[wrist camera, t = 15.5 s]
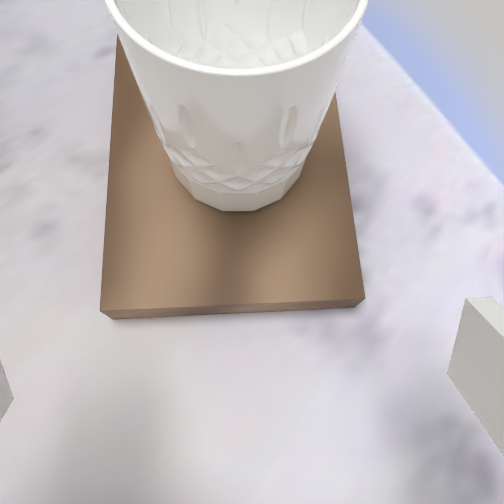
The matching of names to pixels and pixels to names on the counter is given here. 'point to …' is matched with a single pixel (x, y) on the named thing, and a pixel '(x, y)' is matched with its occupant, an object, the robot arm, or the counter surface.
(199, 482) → the counter surface
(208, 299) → the walnut board
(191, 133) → the white cup
